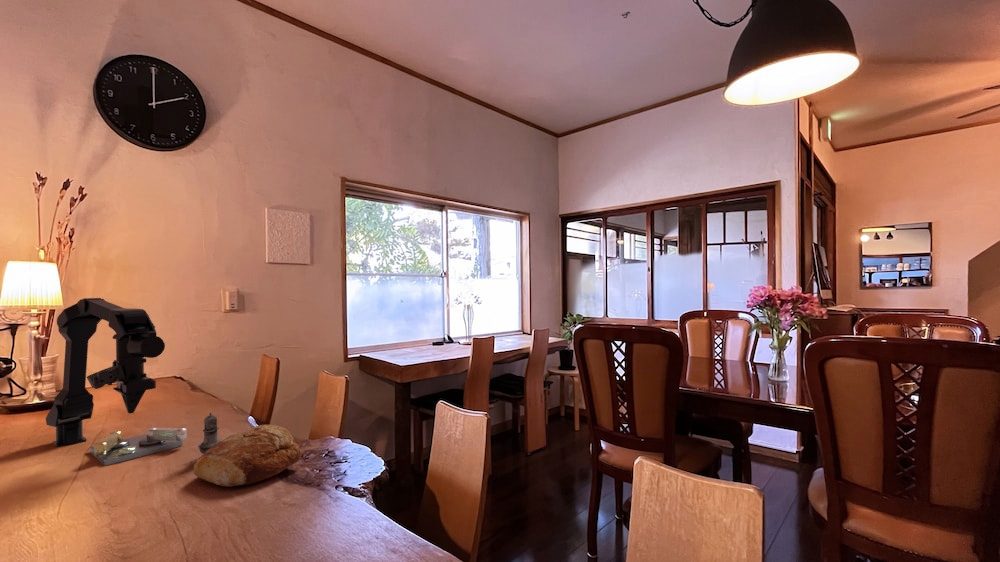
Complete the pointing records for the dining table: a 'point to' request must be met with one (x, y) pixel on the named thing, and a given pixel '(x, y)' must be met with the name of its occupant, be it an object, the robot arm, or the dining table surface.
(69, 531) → the dining table surface
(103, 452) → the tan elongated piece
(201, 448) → the salt shaker
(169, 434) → the silver lever handle
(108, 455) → the plate
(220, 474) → the bread
